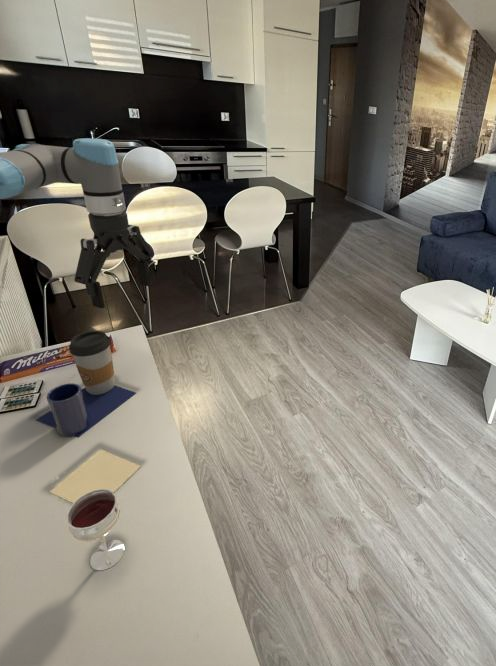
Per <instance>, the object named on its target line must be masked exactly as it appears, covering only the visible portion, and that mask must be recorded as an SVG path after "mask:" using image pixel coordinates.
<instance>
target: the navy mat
mask: <svg viewBox="0 0 496 666" xmlns="http://www.w3.org/2000/svg"><path fill="white" fill-rule="evenodd" d="M81 390H82V394H83V397H84V400H85V404H86V407H87V411H88V414H89V417H90V425H89V427H88V428H87V429H86V430H85V431H83V432H82V433H80V434H78V435H75V436H74V437H75V438H78V439H79V438H80V437H81V436H82V435H84V434H85V433H87V432H89V430H91V429H93V428H94V427H95V426H96V425H97V424H98V423H100V422H101V421H102V420H103V419H106V417H107V416H109V415H110V414H112V413H113V412H114V411H115V410H117V409H118V408H119V407H120V406H122V405H123V404H125V403H126V402H127V401H128V400H130V399H131V398H132V397H134V396H135V395H136V394H137V392H135V391H133V390H130V389H127V388H124V387H122V386H119V385H116V384H115V385H114V387H113V388H112V389H111V390H110V391H108V392H106V393H104V394H100V395H92V394H90V393H89V392H87V391H86V388H85V387H83V388H81ZM35 421H36V422H39V423H41V424H44V425H46V426H49V427H51V428H52V429H56V430H57V427H56V424H55V421H54V418H53V415H52V412H51V410H48V411H47V412H45V413H44V414H42V415H41V416H39V417H38V418H36V419H35Z"/></svg>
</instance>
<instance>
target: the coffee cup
mask: <svg viewBox="0 0 496 666" xmlns="http://www.w3.org/2000/svg"><path fill="white" fill-rule="evenodd" d="M69 342H70V344H69V353H70V354H71V355H72V357H73V361H74V363H75V367H76V369H77V372H78V374H79V377H80V379H81V381H82V384H83V386H84V388H86V391H87V392H89V393H90V394H92V395H100V394H104V393H106V392H108V391H110V390H111V389H112V388H113V387H114V385H116V379H115V367H114V362H113V355H112V351H111V340H110V337H109V336H108V335H107V334H106V333H105V332H104V331H102V330H87V331H84V332H81V333H78V334H76V335H75V336H73V337H72V338H71V339H70V341H69Z"/></svg>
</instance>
